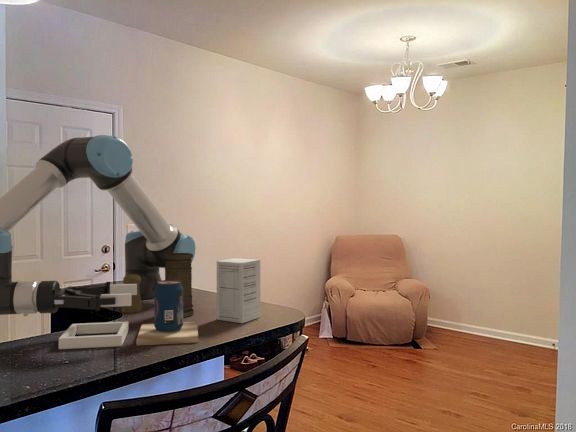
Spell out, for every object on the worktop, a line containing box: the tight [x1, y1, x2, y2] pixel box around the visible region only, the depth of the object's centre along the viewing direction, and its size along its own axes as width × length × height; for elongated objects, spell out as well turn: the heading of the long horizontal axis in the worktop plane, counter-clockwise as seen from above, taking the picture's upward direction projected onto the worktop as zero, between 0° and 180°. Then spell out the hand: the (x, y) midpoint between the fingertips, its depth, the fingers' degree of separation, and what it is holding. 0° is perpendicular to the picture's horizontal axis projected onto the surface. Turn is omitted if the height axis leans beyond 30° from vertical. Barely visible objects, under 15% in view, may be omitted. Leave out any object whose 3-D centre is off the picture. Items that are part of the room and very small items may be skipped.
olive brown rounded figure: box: [121, 274, 143, 314], centre depth 145 cm, size 6×6×11 cm
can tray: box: [58, 320, 130, 350], centre depth 114 cm, size 13×13×2 cm
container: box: [164, 253, 195, 318], centre depth 140 cm, size 9×9×18 cm
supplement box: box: [216, 257, 262, 324], centre depth 136 cm, size 10×9×17 cm
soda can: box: [153, 279, 184, 333], centre depth 117 cm, size 7×7×12 cm
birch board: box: [136, 321, 199, 346], centre depth 118 cm, size 14×14×2 cm
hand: (134, 294), depth 116 cm, fingers open, 13 cm apart
